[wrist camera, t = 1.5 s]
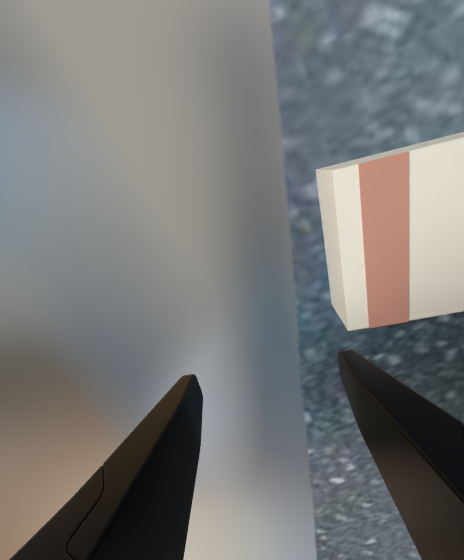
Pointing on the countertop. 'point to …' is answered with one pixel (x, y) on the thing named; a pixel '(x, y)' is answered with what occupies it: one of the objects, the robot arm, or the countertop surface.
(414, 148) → the book
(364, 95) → the countertop surface
